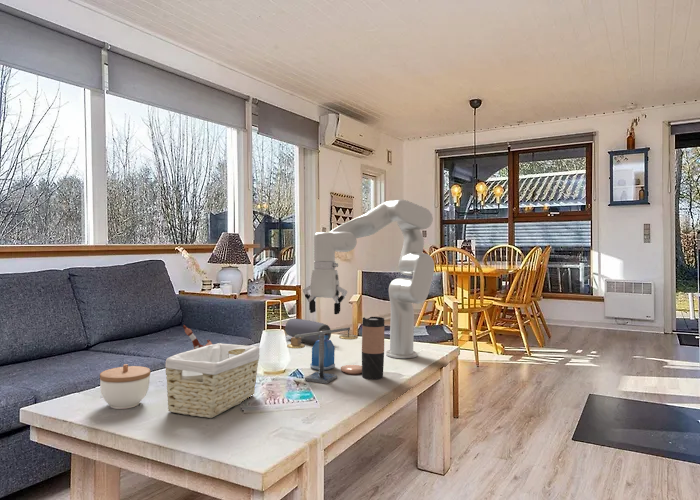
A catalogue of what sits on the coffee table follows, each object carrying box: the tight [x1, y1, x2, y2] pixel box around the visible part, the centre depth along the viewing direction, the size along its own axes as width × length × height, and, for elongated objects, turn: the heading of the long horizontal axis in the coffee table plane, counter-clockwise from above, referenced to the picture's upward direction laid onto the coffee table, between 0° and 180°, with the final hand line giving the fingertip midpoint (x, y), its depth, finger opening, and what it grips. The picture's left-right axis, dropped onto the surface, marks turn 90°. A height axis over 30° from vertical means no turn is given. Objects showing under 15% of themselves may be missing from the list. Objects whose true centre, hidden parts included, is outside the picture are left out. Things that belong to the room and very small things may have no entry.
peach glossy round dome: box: [340, 364, 362, 375], centre depth 173 cm, size 9×9×1 cm
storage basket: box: [164, 342, 261, 419], centre depth 136 cm, size 24×16×15 cm
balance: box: [286, 326, 359, 385], centre depth 163 cm, size 8×25×18 cm, turn 68°
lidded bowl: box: [99, 363, 151, 410], centre depth 134 cm, size 13×13×11 cm
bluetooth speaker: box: [284, 318, 332, 345], centre depth 224 cm, size 23×9×10 cm, turn 46°
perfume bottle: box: [311, 331, 336, 367], centre depth 178 cm, size 6×6×12 cm
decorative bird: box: [182, 324, 213, 350], centre depth 164 cm, size 28×18×15 cm, turn 5°
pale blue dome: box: [309, 362, 336, 371], centre depth 178 cm, size 9×9×1 cm
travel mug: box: [361, 316, 385, 381], centre depth 167 cm, size 8×8×20 cm
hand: (324, 313), depth 178 cm, fingers open, 9 cm apart
